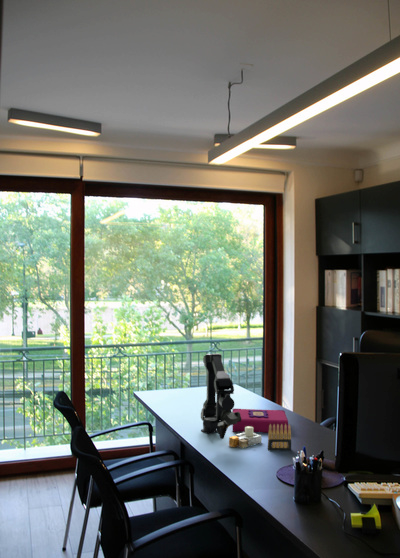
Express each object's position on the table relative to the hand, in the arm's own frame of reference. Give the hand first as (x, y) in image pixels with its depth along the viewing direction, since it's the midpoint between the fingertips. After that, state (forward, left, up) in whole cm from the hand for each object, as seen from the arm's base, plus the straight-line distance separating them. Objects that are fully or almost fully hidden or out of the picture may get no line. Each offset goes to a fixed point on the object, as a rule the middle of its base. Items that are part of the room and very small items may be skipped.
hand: (222, 438), depth 243 cm
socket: (0, +17, -5) cm, 18 cm away
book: (-15, +39, -6) cm, 42 cm away
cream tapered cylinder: (0, +17, -5) cm, 18 cm away
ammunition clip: (+16, +21, -5) cm, 27 cm away
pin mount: (0, +10, -5) cm, 11 cm away
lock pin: (0, +11, -5) cm, 12 cm away
